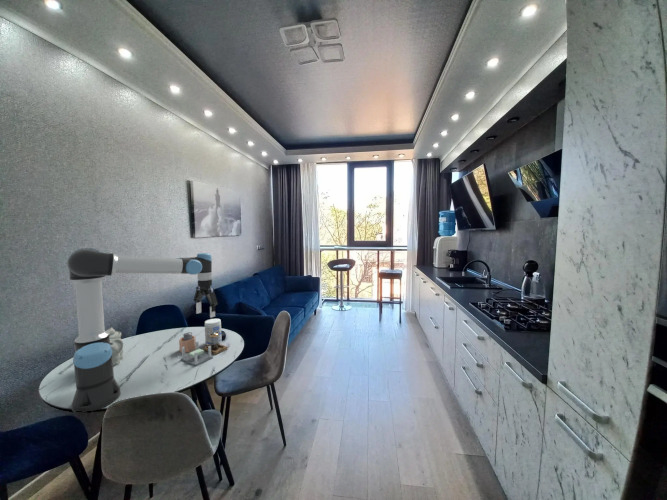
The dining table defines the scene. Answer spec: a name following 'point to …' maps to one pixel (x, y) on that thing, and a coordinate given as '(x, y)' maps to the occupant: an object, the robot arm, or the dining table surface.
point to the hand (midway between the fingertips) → (205, 314)
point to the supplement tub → (212, 329)
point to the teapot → (116, 345)
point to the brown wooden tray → (221, 349)
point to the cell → (214, 341)
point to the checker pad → (197, 352)
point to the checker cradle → (196, 359)
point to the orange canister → (187, 342)
